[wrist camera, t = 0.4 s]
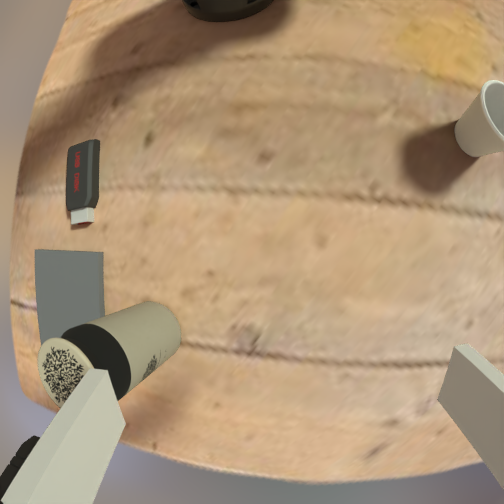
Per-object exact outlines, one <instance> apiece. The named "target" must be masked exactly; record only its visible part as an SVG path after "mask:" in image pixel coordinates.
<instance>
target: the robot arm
mask: <svg viewBox="0 0 504 504" xmlns="http://www.w3.org/2000/svg"><path fill="white" fill-rule="evenodd" d="M182 1H183V3H184V5H185V7H186V9H187V10H188V12H189V13H190V14H191V15H193V16H194V17H196V18H198V19H201V20H205V21H213V22H223V21H232V20H237V19H241V18H245V17H248V16H250V15H253V14H255V13H257V12H259V11H261V10H263V9H264V8H266V7H267V6H268V5H269V4H270V3H271V2H272V1H273V0H182ZM437 400H438V401H439V402H440V404H441V405H442V406H443V408H444V409H445V410H446V411H447V413H448V414H449V415H450V417H451V418H452V419H453V421H454V422H455V423H456V424H457V426H458V427H459V428H460V430H461V431H462V432H463V434H464V435H465V436H466V438H467V439H468V441H469V442H470V443H471V445H472V446H473V447H474V449H475V450H476V451H477V453H478V454H479V456H480V457H481V458H482V460H483V461H484V463H485V464H486V465H487V467H488V468H489V470H490V471H491V472H492V474H493V475H494V477H495V478H496V480H497V481H498V482H499V484H500V485H501V487H502V488H503V490H504V374H502V373H501V372H500V371H499V370H498V369H497V368H496V367H494V366H493V365H492V364H491V363H490V362H489V361H488V360H486V359H485V358H484V357H483V356H482V355H481V354H479V353H478V352H477V351H476V350H475V349H474V348H472V347H471V346H470V345H469V344H468V343H466V344H462V345H458V346H454V348H453V352H452V355H451V359H450V362H449V366H448V369H447V372H446V375H445V379H444V382H443V385H442V388H441V391H440V393H439V396H438V399H437ZM125 425H126V423H125V420H124V418H123V415H122V412H121V410H120V407H119V404H118V401H117V398H116V395H115V392H114V389H113V386H112V383H111V380H110V377H109V374H108V370H101V369H92V368H90V369H89V370H88V371H87V373H86V374H85V376H84V377H83V378H82V380H81V381H80V382H79V384H78V385H77V386H76V388H75V389H74V391H73V392H72V393H71V395H70V396H69V397H68V399H67V400H66V402H65V403H64V404H63V406H62V407H61V409H60V410H59V412H58V413H57V414H56V416H55V417H54V419H53V420H52V422H51V423H50V424H49V426H48V427H47V429H46V430H45V432H44V433H43V435H42V436H41V438H40V437H37V436H33V437H31V438H30V439H28V440H27V441H25V442H24V443H23V444H22V445H21V447H20V448H19V450H18V451H17V452H16V456H14V457H13V458H12V460H11V461H10V465H8V466H7V467H6V469H5V470H4V472H3V473H2V475H1V476H0V504H93V501H94V498H95V496H96V494H97V491H98V489H99V486H100V484H101V481H102V479H103V476H104V474H105V471H106V469H107V467H108V464H109V462H110V459H111V457H112V455H113V452H114V450H115V448H116V445H117V443H118V441H119V438H120V436H121V434H122V431H123V429H124V427H125Z"/></svg>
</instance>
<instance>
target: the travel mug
mask: <svg viewBox="0 0 504 504" xmlns="http://www.w3.org/2000/svg"><path fill="white" fill-rule="evenodd" d="M180 342H181V330H180V326H179V323H178V321H177V319H176V317H175V316H174V314H173V313H172V312H171V311H170V310H169V309H168V308H167V307H165V306H164V305H162V304H160V303H157V302H151V301H148V302H143V303H140V304H137V305H134V306H132V307H129V308H126V309H123V310H120V311H118V312H115V313H112V314H109V315H106V316H104V317H101V318H98V319H95V320H93V321H90V322H87V323H84V324H81V325H78V326H76V327H73V328H70V329H68V330H67V331H65V332H64V333H63V335H62V336H61V338H50V339H48V340H46V341H45V342H44V343H43V344H42V346H41V347H40V350H39V353H38V370H39V375H40V378H41V381H42V383H43V386H44V388H45V389H46V391H47V393H48V395H49V396H50V397H51V399H52V400H53V401H54V402H55V404H56V405H57V406H58V407H59V408H61V407H62V406H63V404H64V403H65V402H66V400H67V399H68V397H69V396H70V395H71V393H72V392H73V391H74V389H75V388H76V386H77V385H78V384H79V382H80V381H81V380H82V378H83V377H84V376H85V374H86V373H87V371H88V370H89V369H90V368H92V369H101V370H108V374H109V377H110V380H111V383H112V386H113V389H114V392H115V395H116V398H117V401H119V400H120V399H121V398H122V397H123V396H125V395H126V394H127V393H128V392H129V391H131V390H132V389H133V388H134V387H135V386H137V385H138V384H139V383H140V382H141V381H143V380H144V379H145V378H146V377H147V376H149V375H150V374H151V373H152V372H153V371H155V370H156V369H157V368H158V367H159V366H160V365H162V364H163V363H164V362H165V361H166V360H168V359H169V358H170V357H171V356H172V355H173V354H174V353H175V352H176V351H177V350H178V348H179V345H180Z"/></svg>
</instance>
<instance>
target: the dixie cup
mask: <svg viewBox="0 0 504 504" xmlns="http://www.w3.org/2000/svg"><path fill="white" fill-rule="evenodd" d="M455 137H456V140H457V143H458V144H459V146H460V148H461V149H462V150H463V151H464V152H465V153H466V154H468V155H470V156H472V157H480V156H484V155H488V154H492V153H496V152H501V151H504V83H503V82H500V81H497V80H490V81H487V82H486V83H485V84H484V85H483V86H482V89H481V92H480V93H479V94H478V96H477V97H476V98H475V100H474V101H473V102H472V104H471V105H470V106H469V108H468V109H467V110H466V111H465V113H464V114H463V115H462V117H461V118H460V119H459V120H458V122H457V123H456V125H455Z"/></svg>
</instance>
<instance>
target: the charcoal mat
mask: <svg viewBox="0 0 504 504" xmlns="http://www.w3.org/2000/svg"><path fill="white" fill-rule="evenodd" d="M35 285H36V302H37V314H38V323H39V332H40V340H41V346H42V344H43V343H44V342H45V341H46V340H48V339H50V338H61V336H62V335H63V333H64V332H65V331H67V330H68V329H70V328H73V327H76V326H78V325H81V324H84V323H87V322H90V321H93V320H95V319H98V318H101V317H104V316H105V310H104V284H103V252H87V251H64V250H40V249H39V250H35Z"/></svg>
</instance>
